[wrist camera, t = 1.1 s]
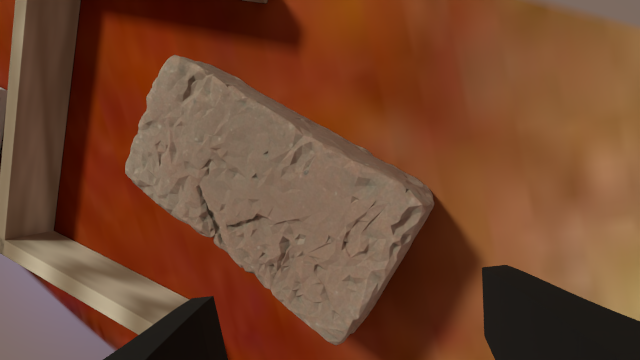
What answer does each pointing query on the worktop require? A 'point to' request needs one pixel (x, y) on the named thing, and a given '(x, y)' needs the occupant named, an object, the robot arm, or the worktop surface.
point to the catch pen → (57, 173)
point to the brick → (277, 193)
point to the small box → (2, 111)
